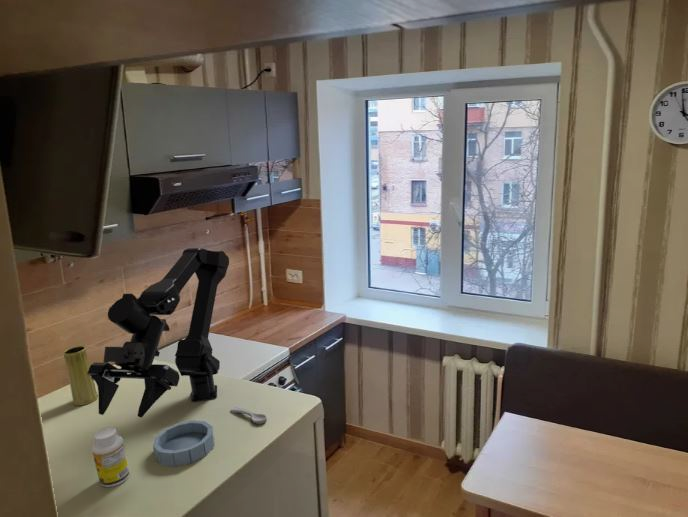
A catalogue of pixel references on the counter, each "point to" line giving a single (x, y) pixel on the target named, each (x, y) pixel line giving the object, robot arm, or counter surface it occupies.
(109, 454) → the supplement bottle
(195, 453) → the bowl
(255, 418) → the spoon
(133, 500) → the counter surface
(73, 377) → the vase
